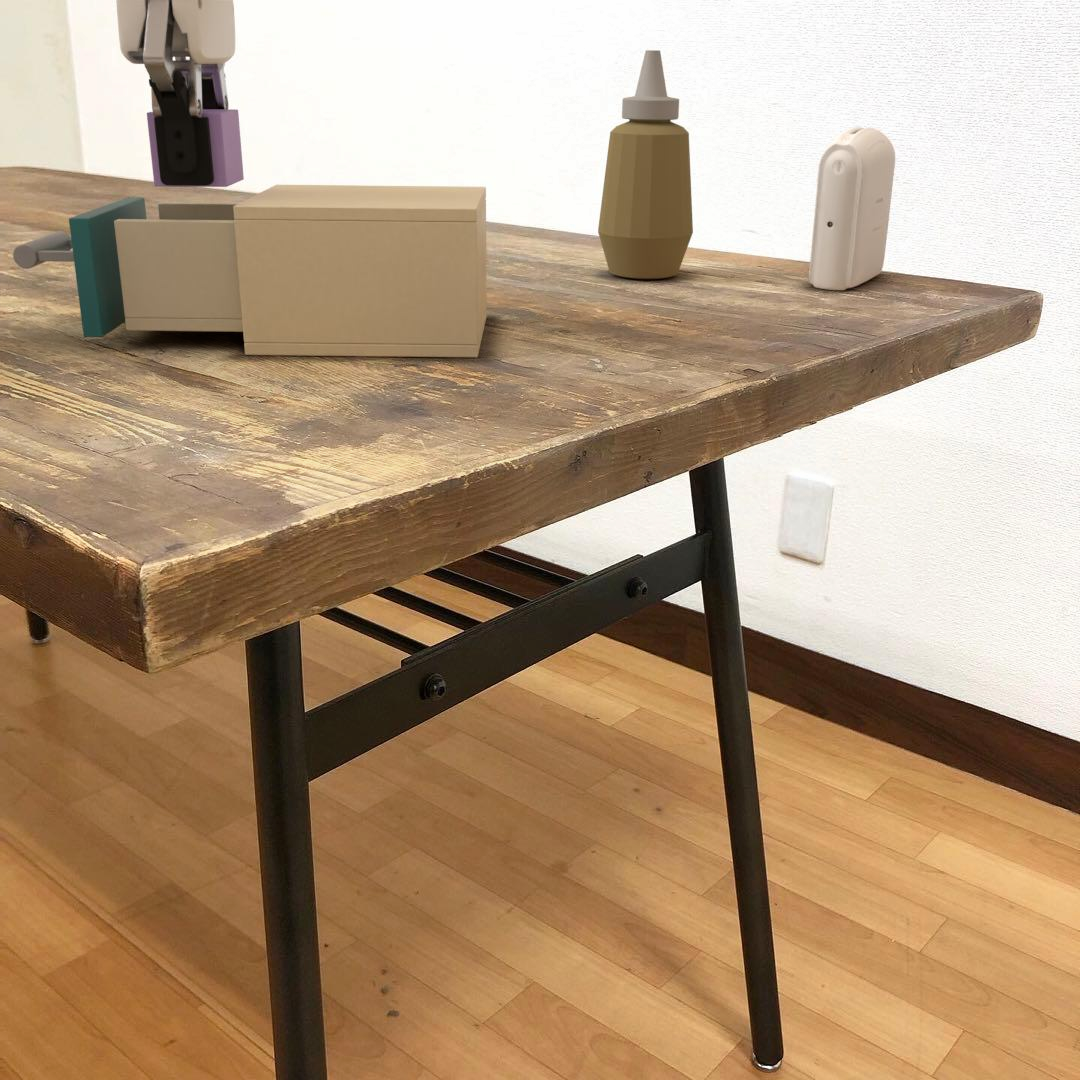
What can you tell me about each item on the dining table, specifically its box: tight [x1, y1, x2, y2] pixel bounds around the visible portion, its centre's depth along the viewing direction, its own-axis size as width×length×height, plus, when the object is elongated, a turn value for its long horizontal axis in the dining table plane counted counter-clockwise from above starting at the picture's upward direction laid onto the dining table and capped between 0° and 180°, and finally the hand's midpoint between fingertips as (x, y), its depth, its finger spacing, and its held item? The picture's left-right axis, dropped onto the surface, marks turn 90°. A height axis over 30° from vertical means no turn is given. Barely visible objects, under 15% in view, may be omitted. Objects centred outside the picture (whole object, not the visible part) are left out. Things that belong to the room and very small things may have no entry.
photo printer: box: [808, 126, 896, 291], centre depth 102 cm, size 10×4×12 cm, turn 149°
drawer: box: [12, 196, 243, 338], centre depth 81 cm, size 18×11×7 cm, turn 90°
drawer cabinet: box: [233, 184, 488, 358], centre depth 81 cm, size 15×13×9 cm
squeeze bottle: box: [597, 49, 694, 280], centre depth 103 cm, size 8×8×18 cm
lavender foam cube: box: [146, 108, 245, 188], centre depth 79 cm, size 5×5×4 cm
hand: (198, 177), depth 79 cm, fingers closed on lavender foam cube, 4 cm apart
